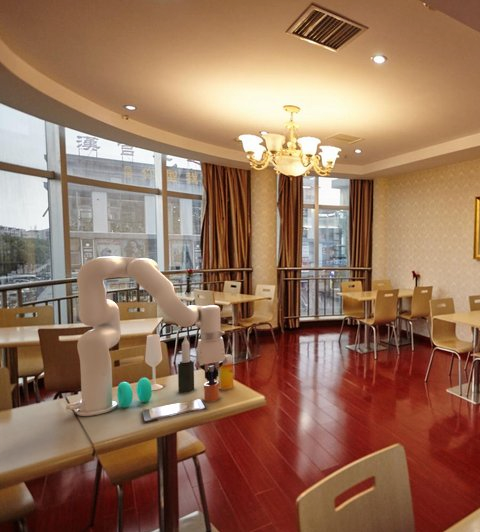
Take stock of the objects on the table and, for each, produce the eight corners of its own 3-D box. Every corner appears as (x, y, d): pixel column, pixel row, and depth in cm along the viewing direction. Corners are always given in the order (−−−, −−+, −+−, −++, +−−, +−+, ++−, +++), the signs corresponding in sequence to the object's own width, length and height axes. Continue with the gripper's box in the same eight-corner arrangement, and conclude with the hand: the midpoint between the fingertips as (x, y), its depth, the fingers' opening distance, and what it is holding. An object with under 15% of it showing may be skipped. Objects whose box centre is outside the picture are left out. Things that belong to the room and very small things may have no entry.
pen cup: (205, 403, 158) (205, 386, 158) (203, 399, 163) (203, 382, 163) (220, 400, 162) (219, 383, 161) (217, 396, 166) (217, 380, 166)
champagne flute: (146, 386, 178) (145, 334, 177) (163, 384, 181) (162, 333, 180) (144, 391, 172) (143, 337, 171) (162, 388, 175) (161, 336, 174)
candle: (188, 393, 169) (187, 336, 168) (177, 393, 169) (176, 336, 168) (195, 389, 174) (194, 334, 173) (184, 389, 174) (183, 334, 173)
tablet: (144, 423, 140) (144, 420, 140) (142, 412, 150) (142, 409, 150) (205, 410, 152) (205, 407, 152) (200, 400, 161) (200, 398, 161)
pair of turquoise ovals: (116, 404, 157) (116, 380, 156) (145, 397, 164) (144, 374, 164) (123, 411, 150) (123, 385, 150) (153, 403, 158) (152, 379, 157)
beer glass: (235, 388, 176) (235, 355, 176) (221, 391, 172) (221, 358, 171) (229, 385, 180) (229, 353, 180) (216, 388, 176) (215, 355, 175)
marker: (209, 396, 161) (209, 367, 160) (208, 395, 162) (208, 366, 162) (215, 395, 162) (214, 366, 162) (214, 394, 164) (213, 365, 163)
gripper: (229, 331, 169) (229, 373, 170) (187, 336, 160) (188, 380, 160) (233, 334, 163) (234, 378, 164) (190, 339, 154) (191, 385, 154)
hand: (211, 379), depth 162 cm, fingers closed on marker, 2 cm apart
